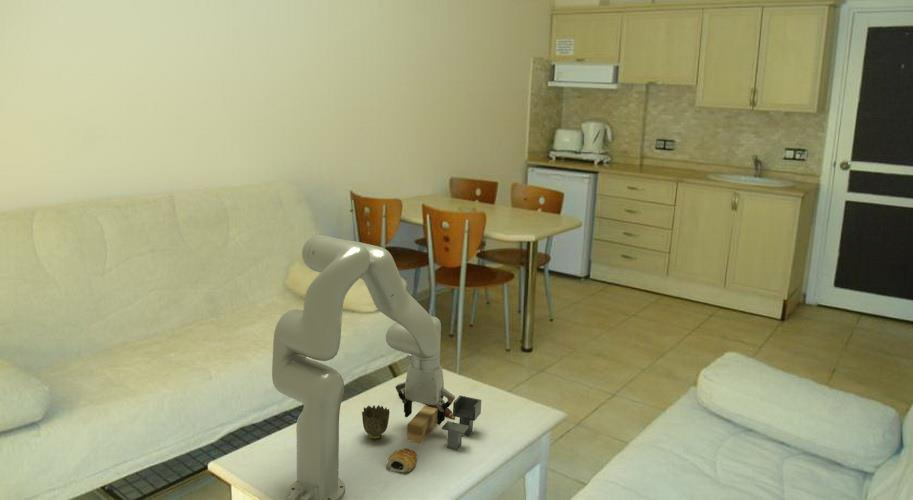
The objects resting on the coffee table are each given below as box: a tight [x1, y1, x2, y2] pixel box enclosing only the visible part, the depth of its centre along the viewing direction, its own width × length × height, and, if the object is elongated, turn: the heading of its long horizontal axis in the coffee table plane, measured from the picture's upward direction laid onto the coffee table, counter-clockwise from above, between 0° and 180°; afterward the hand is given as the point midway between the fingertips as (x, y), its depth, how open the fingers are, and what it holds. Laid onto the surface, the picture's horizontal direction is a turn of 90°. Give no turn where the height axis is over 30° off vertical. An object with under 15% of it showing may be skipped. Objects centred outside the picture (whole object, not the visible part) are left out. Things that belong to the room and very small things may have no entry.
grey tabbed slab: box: [441, 420, 468, 452], centre depth 190 cm, size 4×6×6 cm, turn 69°
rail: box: [406, 405, 438, 444], centre depth 197 cm, size 12×4×5 cm, turn 161°
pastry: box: [385, 447, 418, 474], centre depth 180 cm, size 9×7×4 cm
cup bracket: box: [452, 395, 482, 437], centre depth 197 cm, size 5×6×10 cm
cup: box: [361, 404, 391, 441], centre depth 192 cm, size 8×7×8 cm
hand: (424, 418), depth 197 cm, fingers open, 9 cm apart
